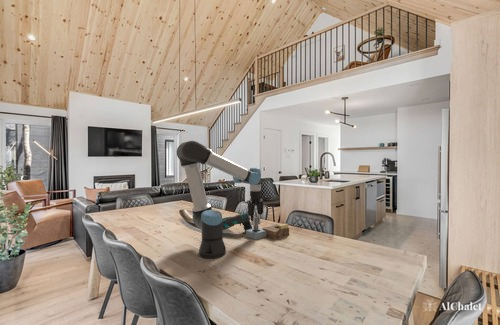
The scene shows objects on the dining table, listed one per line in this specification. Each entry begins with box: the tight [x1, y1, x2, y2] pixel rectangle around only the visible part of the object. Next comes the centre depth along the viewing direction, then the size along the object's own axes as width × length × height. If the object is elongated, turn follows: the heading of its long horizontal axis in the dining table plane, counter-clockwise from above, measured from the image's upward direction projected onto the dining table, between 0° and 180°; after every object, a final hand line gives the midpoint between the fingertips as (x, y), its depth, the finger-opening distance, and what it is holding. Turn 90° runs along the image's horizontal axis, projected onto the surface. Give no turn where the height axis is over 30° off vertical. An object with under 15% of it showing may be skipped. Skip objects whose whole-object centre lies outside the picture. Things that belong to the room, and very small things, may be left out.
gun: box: [222, 211, 253, 235], centre depth 176 cm, size 7×29×15 cm, turn 85°
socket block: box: [261, 224, 290, 240], centre depth 168 cm, size 14×12×5 cm
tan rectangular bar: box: [278, 223, 289, 229], centre depth 166 cm, size 7×2×2 cm, turn 128°
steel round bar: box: [252, 216, 259, 232], centre depth 166 cm, size 3×3×13 cm
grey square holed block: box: [245, 227, 267, 241], centre depth 166 cm, size 10×10×4 cm
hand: (255, 224), depth 166 cm, fingers open, 4 cm apart
